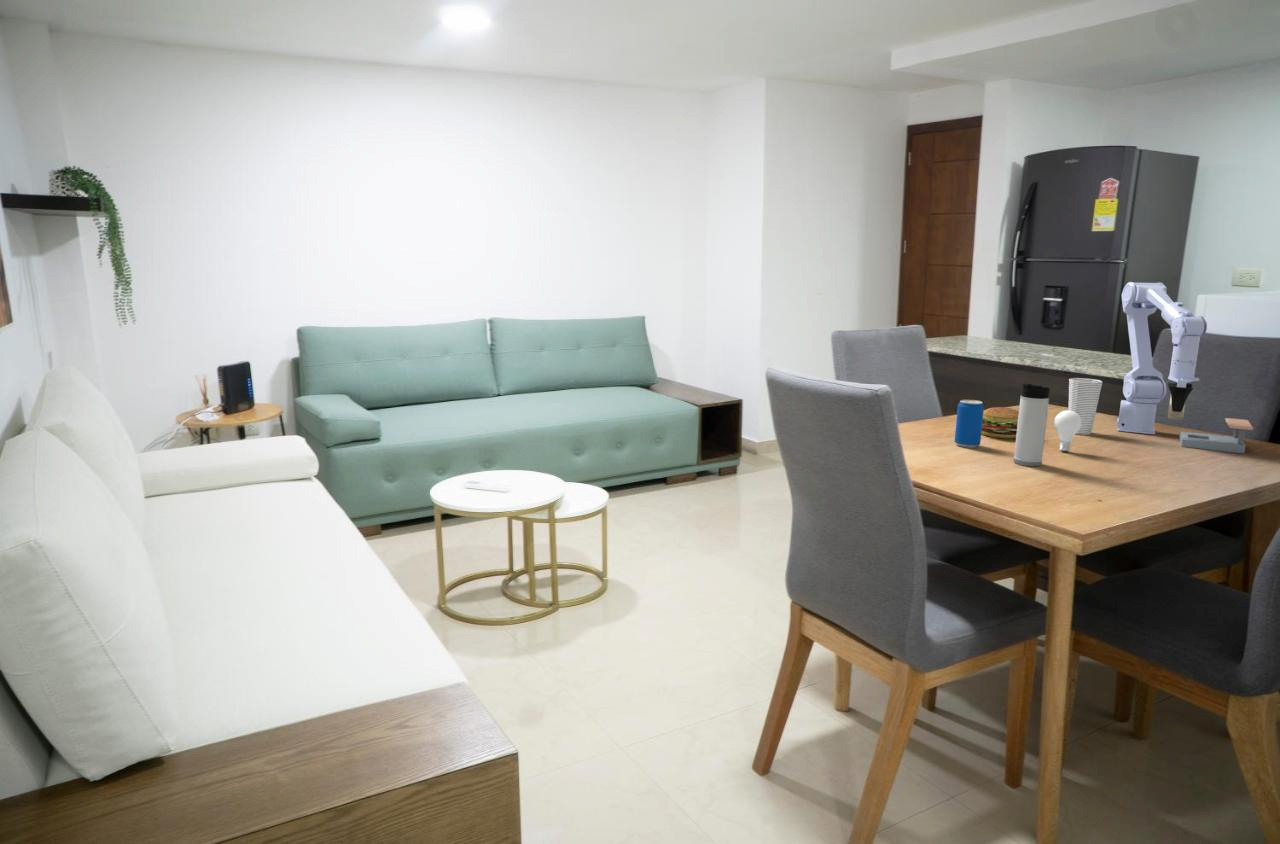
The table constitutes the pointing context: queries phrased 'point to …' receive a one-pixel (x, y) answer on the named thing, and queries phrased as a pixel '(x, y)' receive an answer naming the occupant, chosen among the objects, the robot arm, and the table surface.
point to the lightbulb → (1067, 428)
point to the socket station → (1219, 438)
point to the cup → (1084, 401)
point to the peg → (1175, 414)
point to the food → (1000, 423)
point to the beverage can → (969, 423)
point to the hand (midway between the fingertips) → (1176, 410)
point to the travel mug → (1031, 425)
